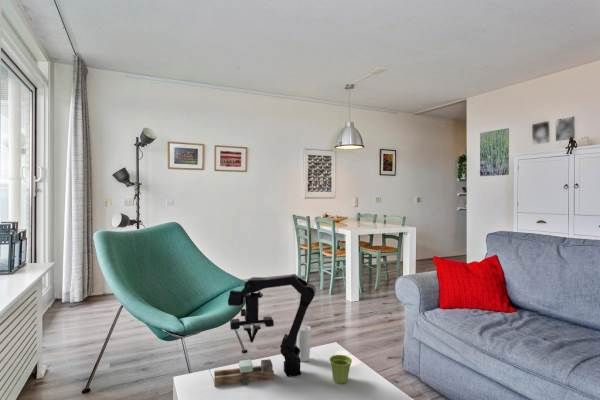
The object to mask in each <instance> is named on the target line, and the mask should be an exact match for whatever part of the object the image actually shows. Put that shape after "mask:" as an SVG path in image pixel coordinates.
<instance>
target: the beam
mask: <svg viewBox="0 0 600 400" xmlns="http://www.w3.org/2000/svg"><path fill="white" fill-rule="evenodd" d="M273 367H274V366H273V363H272V360H271V359H270V358H269V359H261V360H260V365H256V366H253V371H251V372H249V373H240V368H239V367H235V368H227V369H219V370H218V369H216V370H214V376H213V378H214V387H222V386H231V385H238V384H241V386H246V385H249V383H256V382H263V381H274V380H275V372H274V369H273Z"/></svg>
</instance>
